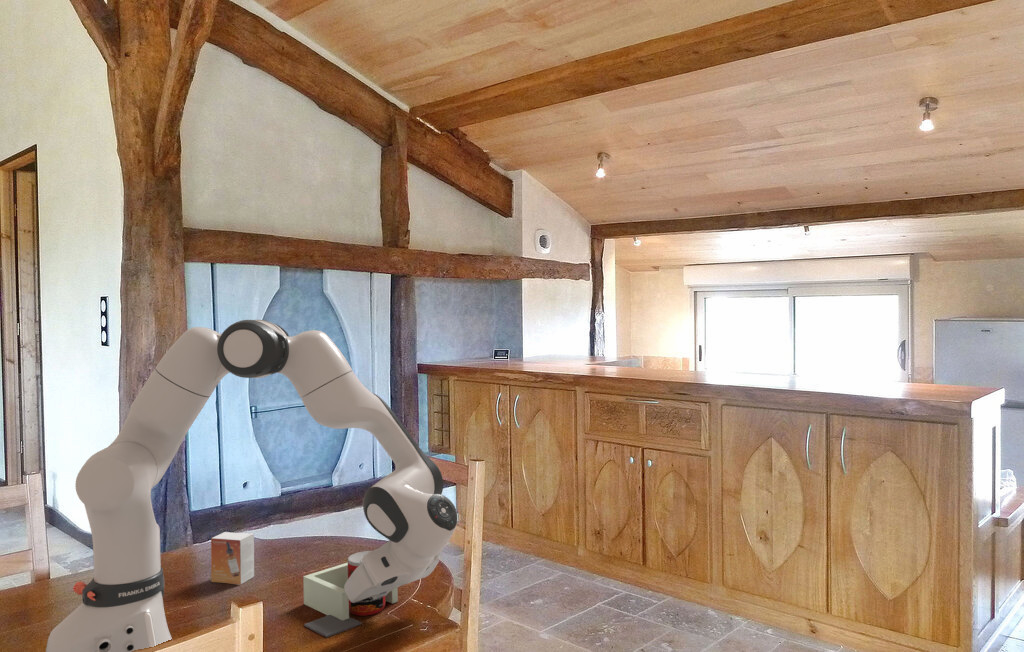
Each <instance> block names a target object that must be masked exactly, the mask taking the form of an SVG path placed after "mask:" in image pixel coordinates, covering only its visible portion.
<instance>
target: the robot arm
mask: <svg viewBox="0 0 1024 652" xmlns="http://www.w3.org/2000/svg"><path fill="white" fill-rule="evenodd" d="M228 374H231V375H234V376H236V377H239V378H243V379H248V378H249V379H259V378H265V377H268V376H271V375H275V374H282V375H283V376H285V377H286V378H287V379H289V381H290V382H291V384H292V385H293V387H294V389H295V390H296V392H297V394H298V395H299V398H300V399H301V402H302V404H303V405H304V407H305V409H306V410H307V412H308V414H309V415H310V416H311V417H312V419H313V420H314V421H315V422H317V423H318V424H320V425H321V426H323V427H326V428H330V429H336V430H337V429H338V430H339V429H340V430H341V429H362V430H365V431H367V432H369V433H370V434H371V435H373V436H374V437H375V439H376V440H377V442H379V444H380V446H381V447H382V448H383V450H384V451H385V452H386V453H387V455H388V456H389V457H390V459H391V460H392V462H393V463H394V466H395V469H394V470H393V471H392V472H390V473H389V474H387V475H386V476H384V477H382V478H381V479H380V480H379V481H377V482H376V483H374V484H373V485H372V486H371V487H369V488H368V489H367V490H366V491H365V493H364V496H363V499H362V508H363V514H364V516H365V519H366V520H367V523H368V524H369V525H370V526H371V528H373V529H374V530H375V531H376V532H377V533H378V534H380V535H381V536H382V537H384V538H386V539H387V540H388V541H386V542H385V543H384V544H382V545H381V546H379V547H377V548H375V549H373V550H370V551H371V552H369V553H367V554H365V555H364V557H363V558H362V562H363V563H362V564H361V565H360V566H358V567H357V568H356V569H355V571H354V572H353V573H352V575H351V576H350V577H349V579H348V580H347V582H346V584H345V586H344V589H345V592H346V595H347V597H348V598H349V600H350V601H351V602H352V603H355V602H358V601H360V600H363V599H366V598H369V597H371V596H372V598H373V599H374V600H375V599H378V598H380V597H383V596H386V595H387V594H388V592H390V591H391V590H393V589H394V588H396V587H398V588H399V587H402V586H404V585H407V584H410V583H413V582H416V581H418V580H422V579H424V578H427V577H428V576H430V574H432V573H433V572H434V570H435V568H436V567H437V565H438V564H439V562H440V558H439V556H440V555H441V553H442V552H444V548H445V547H446V546H447V544H448V543H449V541H450V540H451V539H452V537H453V535H454V532H455V531H456V528H457V524H458V511H457V509H456V506H455V504H454V503H453V502H452V500H450V498H449V497H447V496H446V495H443V494H442V493H443V490H444V480H443V479H444V478H443V476H442V472H441V470H440V468H439V467H438V465H437V464H436V463H435V462H434V461H433V460H432V459H431V458H430V457H429V456H428V455H427V454H426V453H425V452H424V451H423V450H422V449H421V448H420V447H419V445H418V444H417V442H416V440H414V438H413V437H412V435H411V434H410V433H409V431H408V430H407V428H405V426H404V425H403V423H402V422H401V421H400V419H399V418H398V417H397V415H396V414H395V413H394V411H393V409H392V408H391V407H390V405H389V404H387V402H386V401H385V400H384V399H383V398H382V397H381V396H379V395H378V394H375V393H373V392H371V391H370V390H369V389H367V387H366V386H364V384H363V383H362V382H361V381H360V379H359V378H358V377H357V375H356V374H355V371H354V370H353V369H352V367H351V365H350V364H349V362H348V360H347V359H346V357H345V356H344V354H343V353H342V351H341V350H340V348H338V346H337V345H336V344H335V342H334V341H333V340H332V339H331V338H330V337H329V336H328V334H327V333H325V332H324V331H321V330H317V329H316V330H315V329H313V330H312V329H311V330H305V331H303V332H300V333H297V334H296V335H293V336H290V335H289V334H288V332H287V331H286V330H285V329H284V328H283V327H281V326H280V325H279V324H276V323H273V322H271V321H268V320H263V319H243V320H238V321H236V322H233V323H232V324H231V325H229V326H227V328H225V330H224V331H223V332H222V333H219V332H218V331H216V330H213V329H212V328H208V327H203V326H195V327H191V328H189V329H187V330H185V332H183V333H182V335H180V337H178V338H177V340H175V342H174V343H172V345H171V346H170V348H168V350H167V351H166V352H165V354H164V355H163V356H162V357H161V359H160V360H159V361H158V363H157V365H156V366H155V368H154V369H153V370H152V372H151V374H150V375H149V377H148V378H147V380H146V381H145V383H144V384H143V386H142V387H141V389H140V390H139V392H138V394H137V395H136V397H135V398H134V400H133V401H132V403H131V405H130V409H129V412H128V415H127V417H126V418H125V421H124V423H123V426H122V427H121V429H120V431H119V432H118V435H117V436H116V438H115V439H114V441H112V442H111V444H109V445H108V446H107V447H105V448H103V449H101V450H99V451H97V452H95V453H94V454H92V455H91V456H89V458H88V459H87V460H86V461H85V462H84V464H83V465H82V467H81V469H80V470H79V472H78V473H77V476H76V479H75V492H76V495H77V497H78V499H79V501H80V502H81V503H82V504H84V505H83V506H84V508H85V512H86V516H87V520H88V523H89V528H90V532H91V536H92V551H93V553H92V555H93V578H92V579H91V580H90V582H89V583H87V584H86V583H85V582H83V581H77V582H75V584H74V585H73V588H72V589H73V592H74V593H76V594H77V595H79V596H81V597H82V603H81V604H80V605H78V606H77V607H76V608H75V609H74V610H72V612H71V613H69V615H68V616H67V617H66V618H64V619H63V620H62V621H61V622H60V623H59V624H57V625H56V626H55V627H54V628H53V629H52V630H51V632H50V633H49V635H48V639H47V642H46V649H45V652H132V651H134V650H138V649H144V648H149V647H154V646H156V645H158V644H161V643H163V642H166V641H168V640H171V639H172V640H173V638H172V635H171V633H170V631H169V627H168V622H167V617H166V614H165V609H164V608H165V607H164V600H163V599H164V598H163V597H164V596H165V575H164V569H163V567H162V566H161V565H162V564H161V563H162V562H161V532H160V531H161V529H160V528H161V527H160V526H159V524H158V523H157V521H156V517H155V512H154V510H153V503H152V499H151V498H152V497H151V496H152V495H151V493H152V489H153V488H154V487H155V486H156V485H157V484H158V483H159V482H161V480H162V479H163V476H164V475H165V473H166V471H167V470H168V468H169V467H170V465H171V463H172V461H173V460H174V458H175V456H176V454H177V453H178V451H179V450H180V449H179V448H180V447H181V445H182V443H183V441H184V439H185V437H186V435H187V434H188V432H189V430H190V428H191V427H192V426H193V423H194V422H195V421H196V419H197V418H198V416H199V415H200V414H201V413H200V412H202V410H203V409H204V407H205V405H206V403H207V402H208V400H209V399H210V397H211V396H212V394H213V392H214V391H215V390H216V388H217V386H218V385H219V383H220V382H221V380H222V379H223V378H224V377H225V376H226V375H228Z"/></svg>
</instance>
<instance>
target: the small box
mask: <svg viewBox="0 0 1024 652" xmlns="http://www.w3.org/2000/svg"><path fill="white" fill-rule="evenodd" d="M254 535H255V534H254V533H252V532H251V533H246V532H245V533H243V532H242V533H241V532H229V531H224V532H221V533H220V534H217V535H215V536H213V537H211V538H210V551H211V552H210V553H211V554H210V557H211V558H210V562H211V563H210V564H211V565H210V568H211V569H210V574H211V575H210V576H211V583H221V584H222V583H223V584H231V585H238V586H241V585H243V584H244V583H246V582H248V581H249V580H251V579H253V578H254V577H255V542H254V541H255V536H254Z"/></svg>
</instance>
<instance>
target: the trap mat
mask: <svg viewBox="0 0 1024 652" xmlns="http://www.w3.org/2000/svg"><path fill="white" fill-rule="evenodd" d="M360 625H362V621H360V620H358V619H356V618H354V617H351V616H349V618H348V619H346V620H340V619H338V618H336V617H334V616H332V615H325V616H323V617H320V618H317V619H315V620H312V621H310V622H306V623H304V625H303V626H304V627H305V628H308V629H310V630H311V631H313V632H315V633H317V634H319V635H321V636H323V637H324V638H326V639H327V638H330V637H332V636H335V635H337V634H340V633H343V632H344V631H345V632H346V631H347V630H350V629H353V628H355V627H357V626H360Z"/></svg>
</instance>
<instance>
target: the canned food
mask: <svg viewBox="0 0 1024 652" xmlns="http://www.w3.org/2000/svg"><path fill="white" fill-rule="evenodd" d="M371 551H372V550H364V551H359V552H356V553H355V552H354V553H353V554H350V555H349V556H348V557H347V563H348V579H349V577H350V576H351V575H352V573H353V572H354V571H355V569H356V568H357V567H358V566H360V565H361V564H362V563H363V562H362V558H363V557H364V555H365V554H367V553H369V552H371ZM385 607H386V601H385V596H383V597H380V598H378V599H375V600H374V599H373V598H372V596H371V597H369V598H366V599H363V600H360V601H358V602H355V603H352V602H351V601H350V600H349V613H350V614H353V615H356V616H361V617H362V616H363V617H364V616H372V615H375V614H378V613H380V612H382V611H384V609H385Z"/></svg>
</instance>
